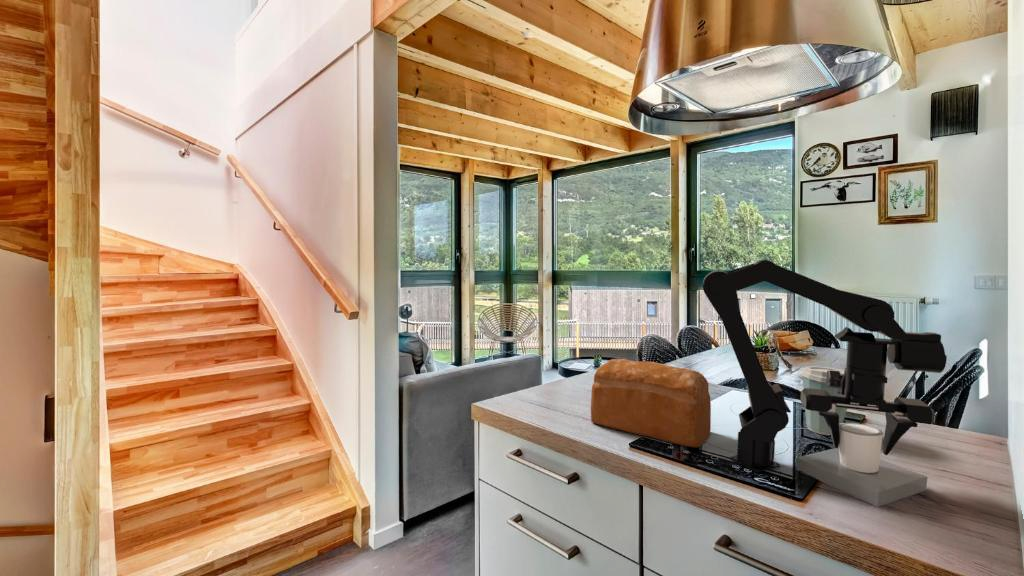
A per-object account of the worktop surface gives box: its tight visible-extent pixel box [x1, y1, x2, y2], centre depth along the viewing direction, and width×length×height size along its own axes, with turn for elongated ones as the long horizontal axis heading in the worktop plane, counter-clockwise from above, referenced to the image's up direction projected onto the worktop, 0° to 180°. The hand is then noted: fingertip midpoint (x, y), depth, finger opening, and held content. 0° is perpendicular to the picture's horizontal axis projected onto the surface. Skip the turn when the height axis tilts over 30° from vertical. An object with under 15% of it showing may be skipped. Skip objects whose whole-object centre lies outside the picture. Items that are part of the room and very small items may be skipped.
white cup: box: [838, 422, 884, 473], centre depth 85 cm, size 7×7×7 cm
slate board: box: [796, 446, 928, 508], centre depth 85 cm, size 14×14×2 cm
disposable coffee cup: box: [801, 365, 848, 437], centre depth 109 cm, size 11×11×15 cm
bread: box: [590, 358, 712, 448], centre depth 110 cm, size 14×26×16 cm, turn 53°
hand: (860, 450), depth 85 cm, fingers open, 7 cm apart
